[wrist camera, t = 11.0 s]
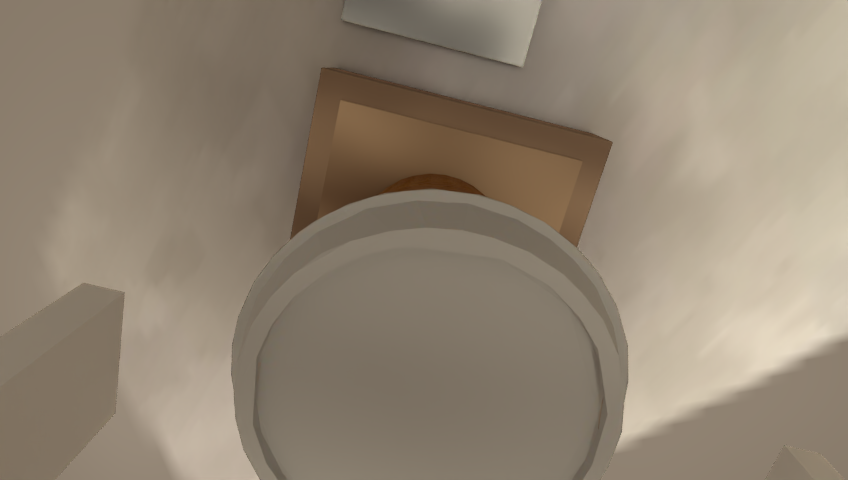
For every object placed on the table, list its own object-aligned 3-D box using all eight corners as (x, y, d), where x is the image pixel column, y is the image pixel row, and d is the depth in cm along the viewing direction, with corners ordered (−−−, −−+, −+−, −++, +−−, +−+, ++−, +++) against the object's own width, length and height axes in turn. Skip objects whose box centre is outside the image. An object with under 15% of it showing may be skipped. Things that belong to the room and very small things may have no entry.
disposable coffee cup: (352, 365, 25) (286, 609, 14) (291, 162, 23) (145, 259, 11) (560, 323, 25) (670, 546, 13) (521, 108, 22) (618, 154, 10)
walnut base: (334, 67, 25) (320, 67, 22) (592, 133, 25) (614, 142, 22) (288, 308, 28) (271, 338, 25) (516, 361, 29) (526, 396, 26)
